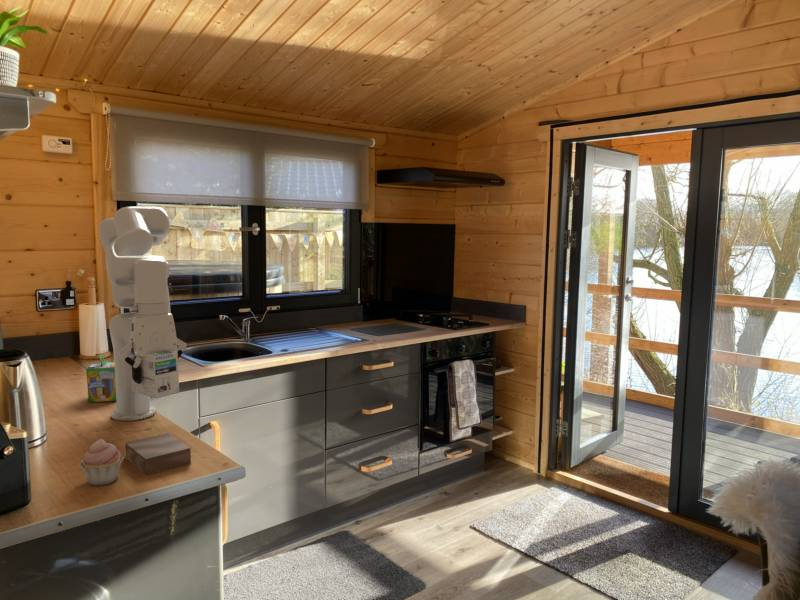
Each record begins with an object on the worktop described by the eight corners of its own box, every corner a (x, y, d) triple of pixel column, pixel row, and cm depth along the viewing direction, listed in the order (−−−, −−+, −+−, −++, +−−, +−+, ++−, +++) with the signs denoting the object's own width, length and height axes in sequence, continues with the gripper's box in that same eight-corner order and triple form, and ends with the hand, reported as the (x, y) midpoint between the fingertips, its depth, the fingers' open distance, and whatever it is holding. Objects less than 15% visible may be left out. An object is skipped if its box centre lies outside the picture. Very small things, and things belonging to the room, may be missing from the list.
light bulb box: (180, 393, 156) (178, 350, 154) (156, 399, 150) (154, 355, 149) (154, 386, 162) (152, 345, 160) (130, 392, 156) (128, 349, 155)
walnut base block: (125, 457, 160) (125, 442, 159) (168, 447, 167) (168, 432, 167) (146, 475, 150) (145, 459, 149) (190, 463, 157) (190, 448, 156)
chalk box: (117, 401, 206) (115, 357, 204) (87, 403, 204) (85, 358, 202) (123, 393, 215) (121, 351, 213) (94, 395, 213) (92, 352, 211)
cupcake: (131, 472, 151) (130, 432, 150) (112, 489, 142) (110, 447, 140) (93, 471, 151) (91, 431, 150) (72, 488, 142) (69, 445, 141)
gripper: (120, 314, 145) (123, 389, 147) (193, 308, 156) (195, 377, 159) (109, 310, 150) (112, 382, 153) (180, 304, 162) (182, 371, 164)
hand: (154, 379), depth 156 cm, fingers closed on light bulb box, 7 cm apart
